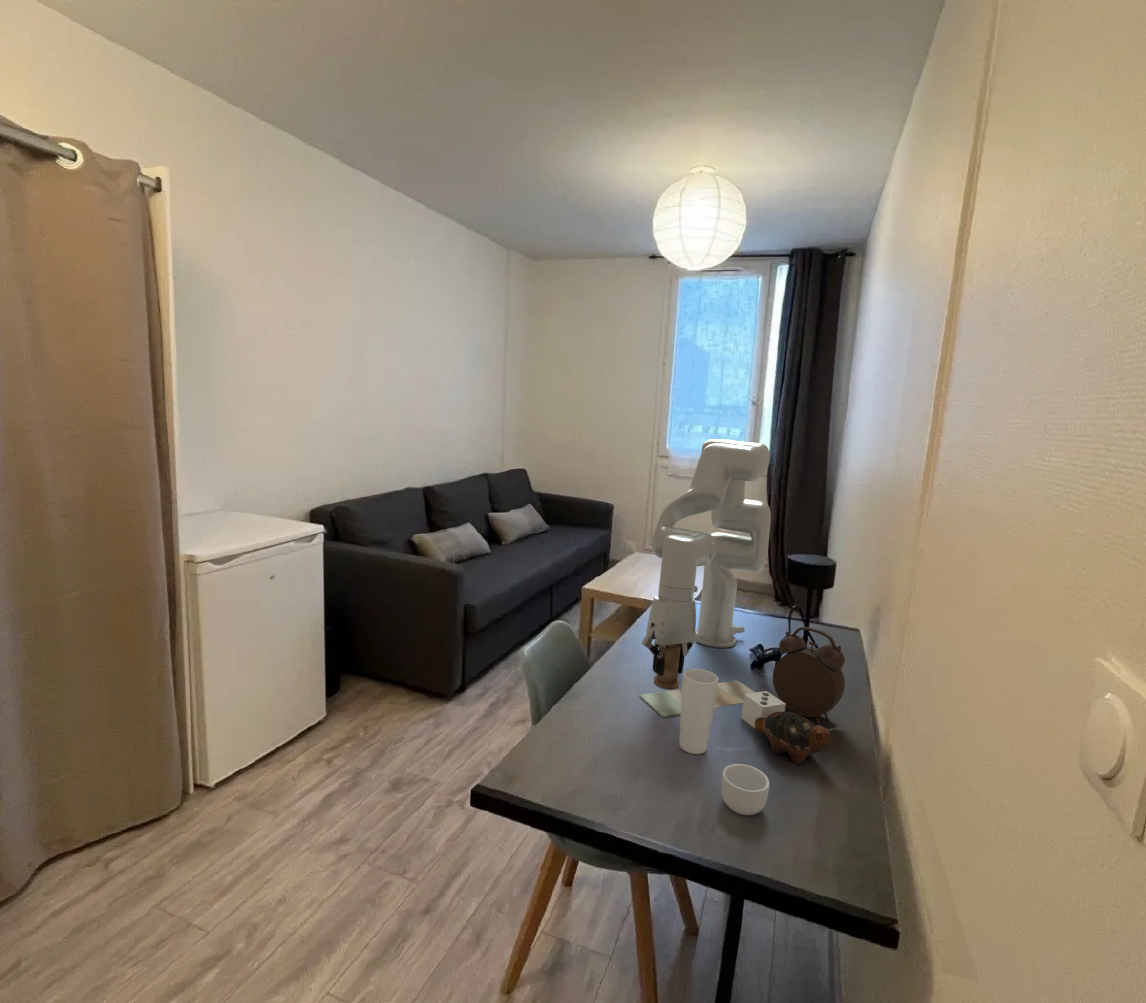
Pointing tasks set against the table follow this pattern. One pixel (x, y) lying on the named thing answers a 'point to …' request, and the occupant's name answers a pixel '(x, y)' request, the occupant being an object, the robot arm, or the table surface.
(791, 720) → the decorative turtle
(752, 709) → the die
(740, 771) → the teacup
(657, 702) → the track board
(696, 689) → the drinking glass
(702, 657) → the table surface
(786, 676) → the alarm clock
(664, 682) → the pawn
